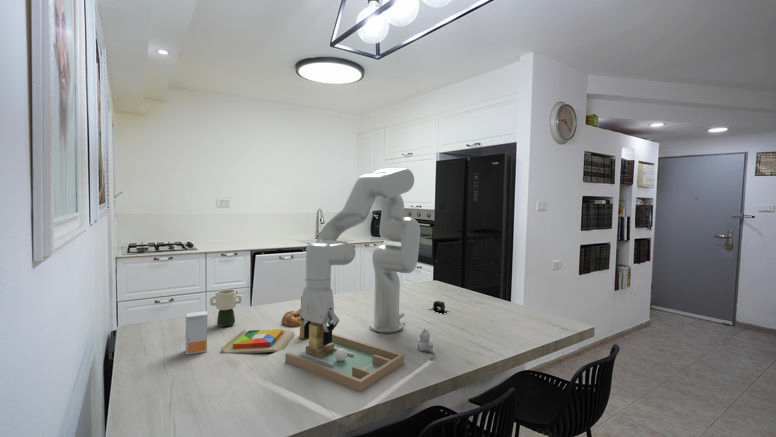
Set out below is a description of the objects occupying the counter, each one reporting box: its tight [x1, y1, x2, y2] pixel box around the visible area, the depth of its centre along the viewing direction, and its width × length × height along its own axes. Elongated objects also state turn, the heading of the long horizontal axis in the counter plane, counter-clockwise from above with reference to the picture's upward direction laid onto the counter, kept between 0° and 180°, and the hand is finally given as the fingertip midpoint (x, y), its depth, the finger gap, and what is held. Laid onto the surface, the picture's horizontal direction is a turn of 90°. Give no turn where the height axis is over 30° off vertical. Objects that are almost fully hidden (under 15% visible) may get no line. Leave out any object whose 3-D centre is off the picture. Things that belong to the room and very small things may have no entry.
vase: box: [299, 294, 314, 340], centre depth 129 cm, size 6×6×14 cm
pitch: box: [284, 333, 405, 393], centre depth 106 cm, size 20×28×4 cm
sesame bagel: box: [281, 310, 301, 328], centre depth 144 cm, size 12×11×4 cm
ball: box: [335, 348, 347, 361], centre depth 107 cm, size 4×4×4 cm
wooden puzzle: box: [221, 328, 295, 355], centre depth 122 cm, size 18×19×4 cm
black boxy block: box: [429, 300, 450, 315], centre depth 161 cm, size 12×7×5 cm, turn 47°
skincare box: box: [185, 310, 208, 356], centre depth 114 cm, size 6×4×12 cm
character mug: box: [209, 288, 243, 327], centre depth 138 cm, size 11×7×13 cm, turn 113°
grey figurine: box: [416, 327, 434, 354], centre depth 117 cm, size 5×7×8 cm
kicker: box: [305, 323, 334, 359], centre depth 112 cm, size 7×6×9 cm
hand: (317, 340), depth 112 cm, fingers open, 7 cm apart
